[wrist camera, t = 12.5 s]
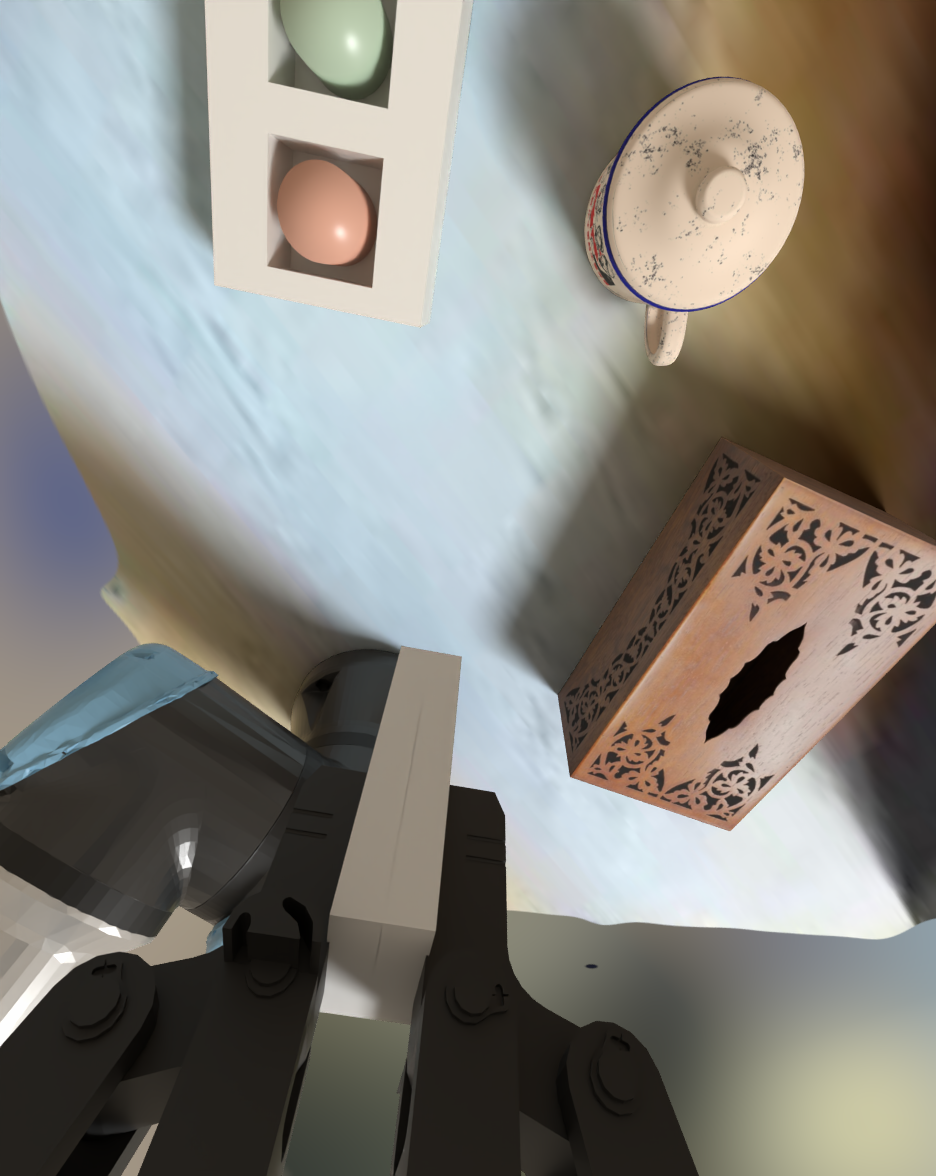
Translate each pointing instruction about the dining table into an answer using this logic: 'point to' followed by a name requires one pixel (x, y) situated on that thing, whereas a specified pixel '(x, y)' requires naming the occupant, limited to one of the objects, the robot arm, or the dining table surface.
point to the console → (333, 154)
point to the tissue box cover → (744, 638)
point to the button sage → (341, 42)
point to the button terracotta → (326, 214)
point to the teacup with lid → (695, 204)
